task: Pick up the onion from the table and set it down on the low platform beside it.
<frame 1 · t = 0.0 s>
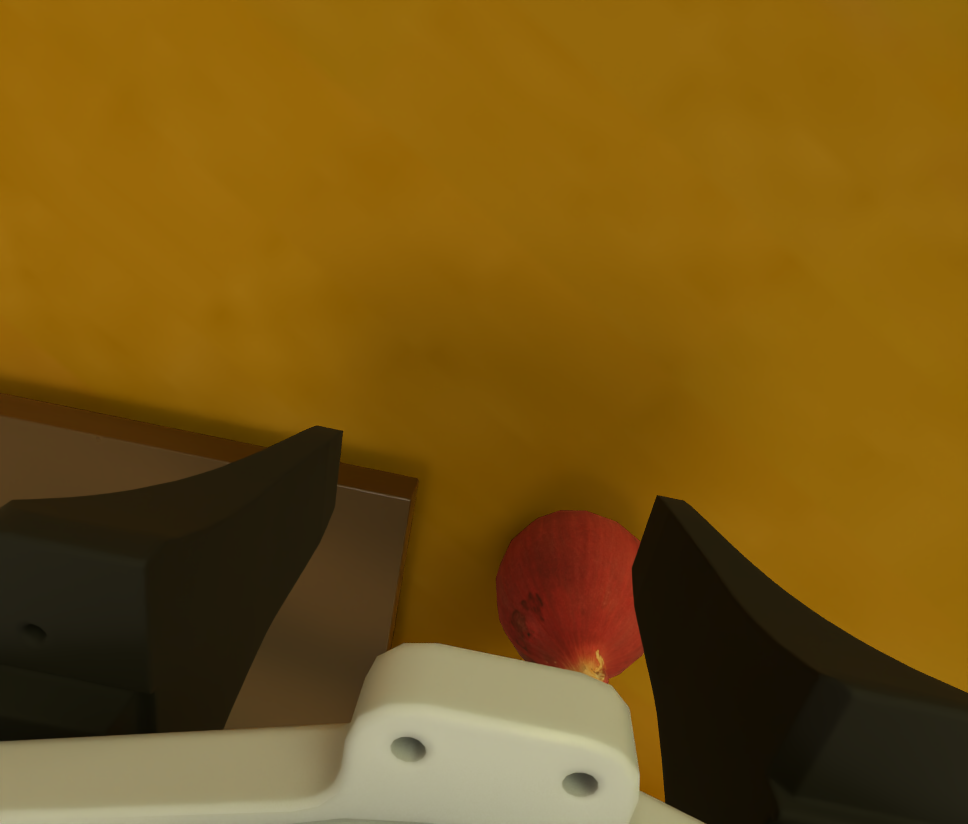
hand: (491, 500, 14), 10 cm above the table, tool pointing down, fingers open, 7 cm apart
onion: (571, 530, 26), on the table
platform: (184, 559, 28), on the table
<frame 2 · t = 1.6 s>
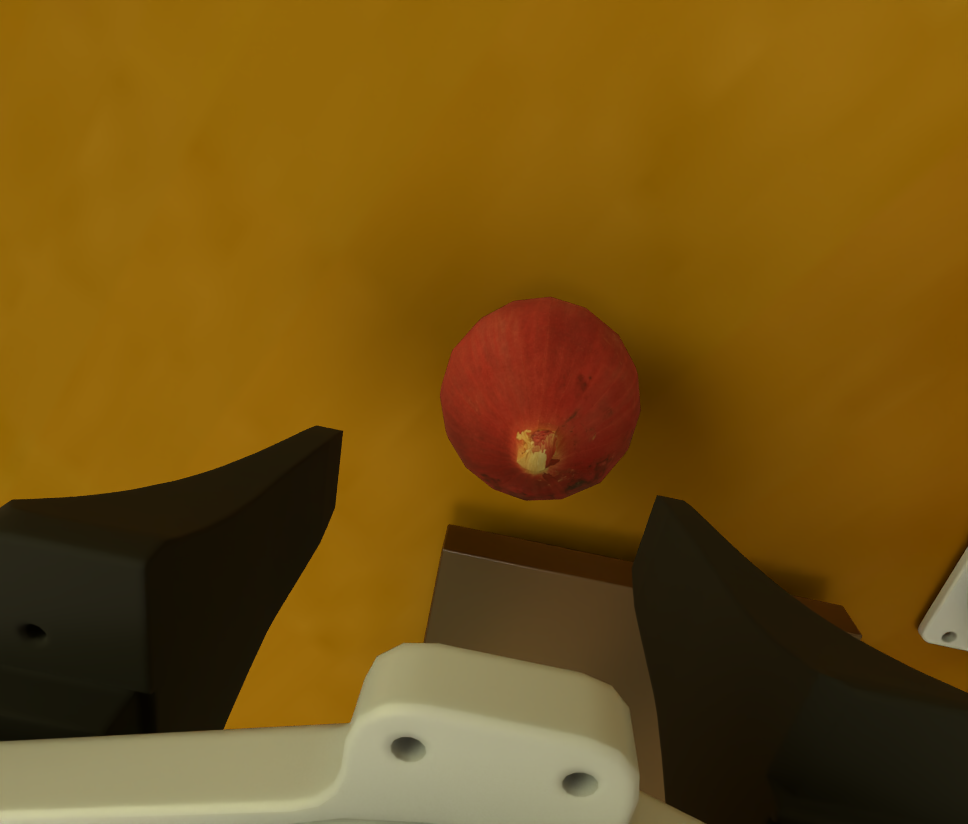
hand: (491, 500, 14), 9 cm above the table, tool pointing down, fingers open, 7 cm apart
onion: (539, 357, 22), on the table
platform: (577, 719, 29), on the table
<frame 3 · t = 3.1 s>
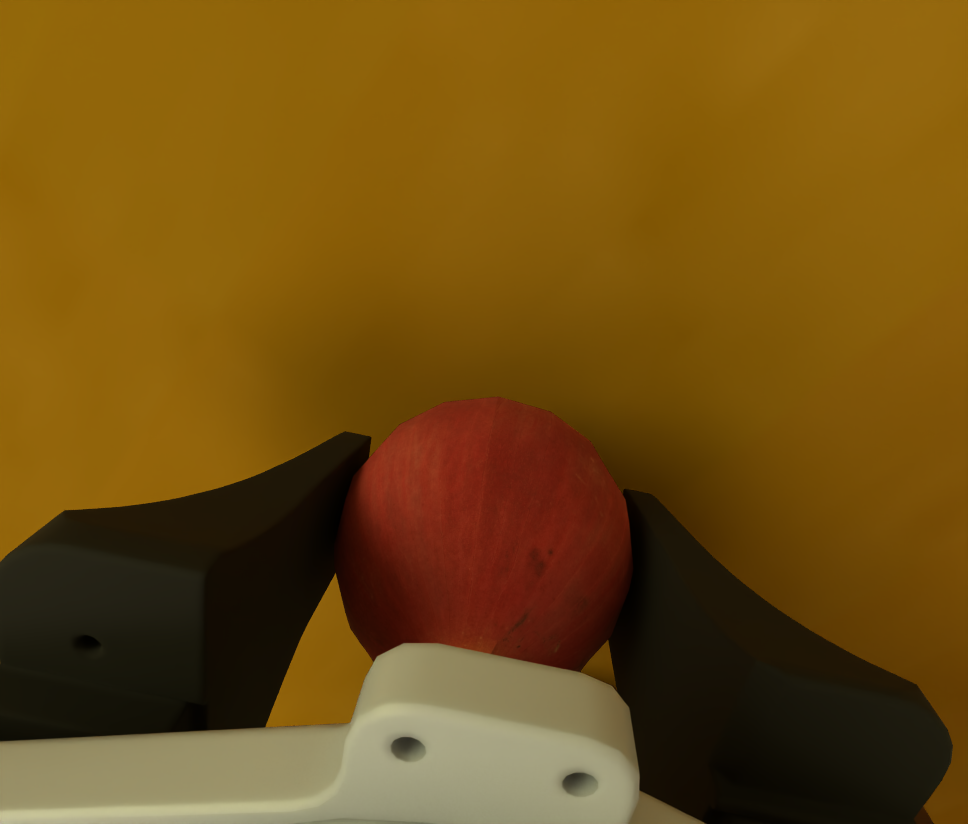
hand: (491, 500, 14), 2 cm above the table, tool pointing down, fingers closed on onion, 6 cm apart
onion: (496, 455, 16), on the table, touching gripper
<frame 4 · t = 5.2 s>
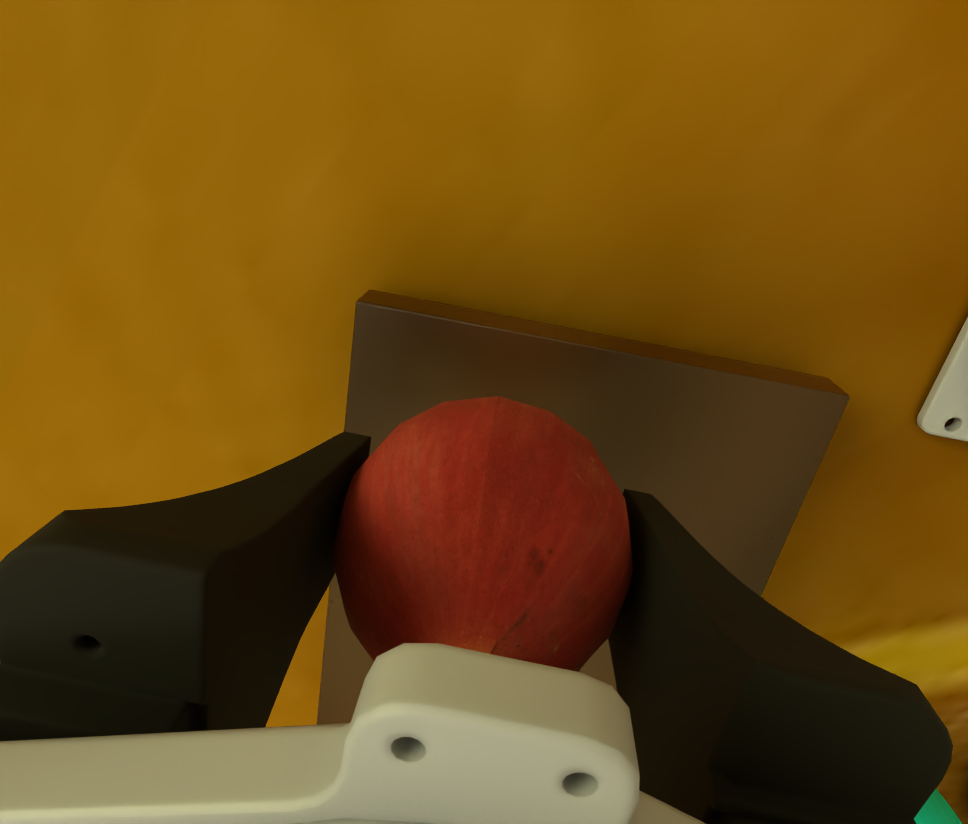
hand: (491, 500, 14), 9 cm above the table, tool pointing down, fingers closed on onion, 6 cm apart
onion: (496, 455, 16), point 7 cm above the table, touching gripper
platform: (534, 557, 26), on the table
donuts: (922, 769, 29), on the table
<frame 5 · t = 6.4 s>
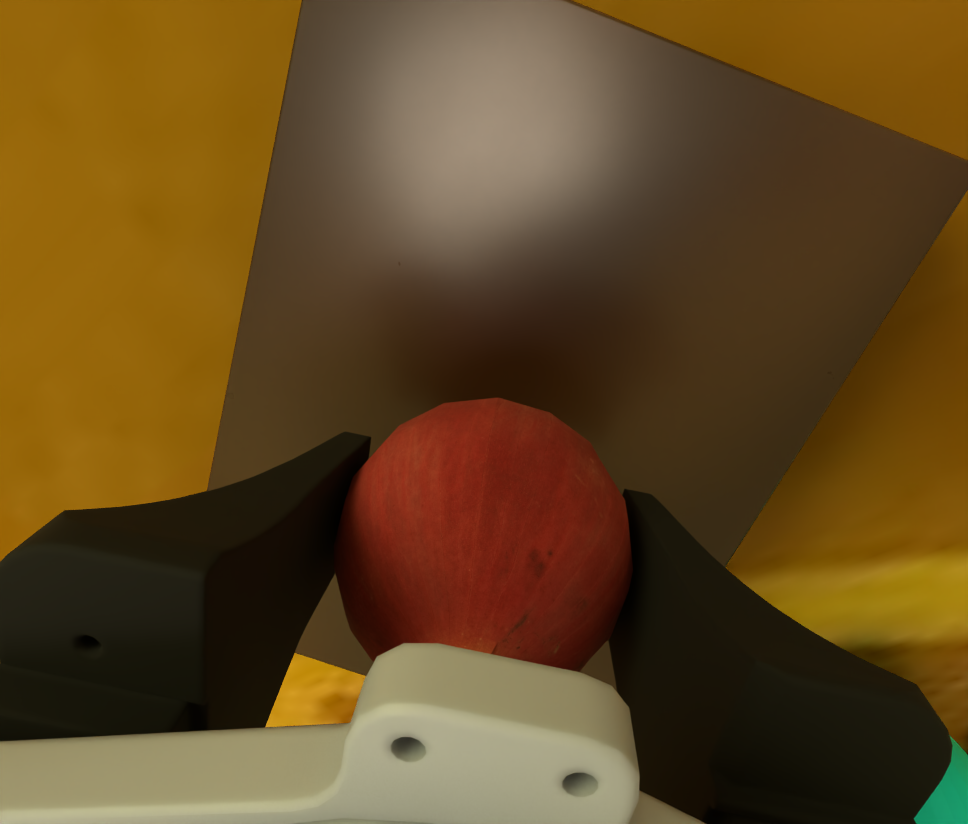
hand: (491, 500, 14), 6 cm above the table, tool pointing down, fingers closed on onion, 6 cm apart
onion: (496, 456, 16), point 4 cm above the table, touching gripper
platform: (505, 396, 20), on the table
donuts: (913, 734, 24), on the table
when the fingers open (5 cm above the table, at t = 7.4 s): onion stays where it is, resting on platform.
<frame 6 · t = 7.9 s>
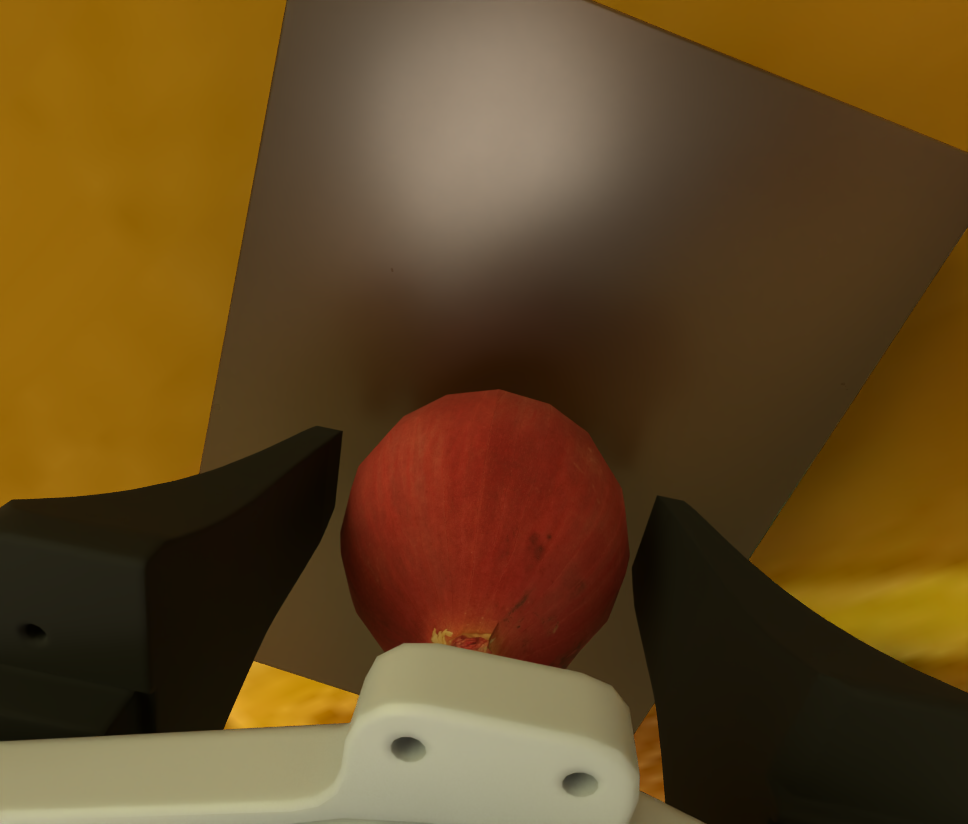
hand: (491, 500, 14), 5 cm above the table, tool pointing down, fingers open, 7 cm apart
onion: (497, 448, 17), point 3 cm above the table, touching platform
platform: (503, 406, 19), on the table
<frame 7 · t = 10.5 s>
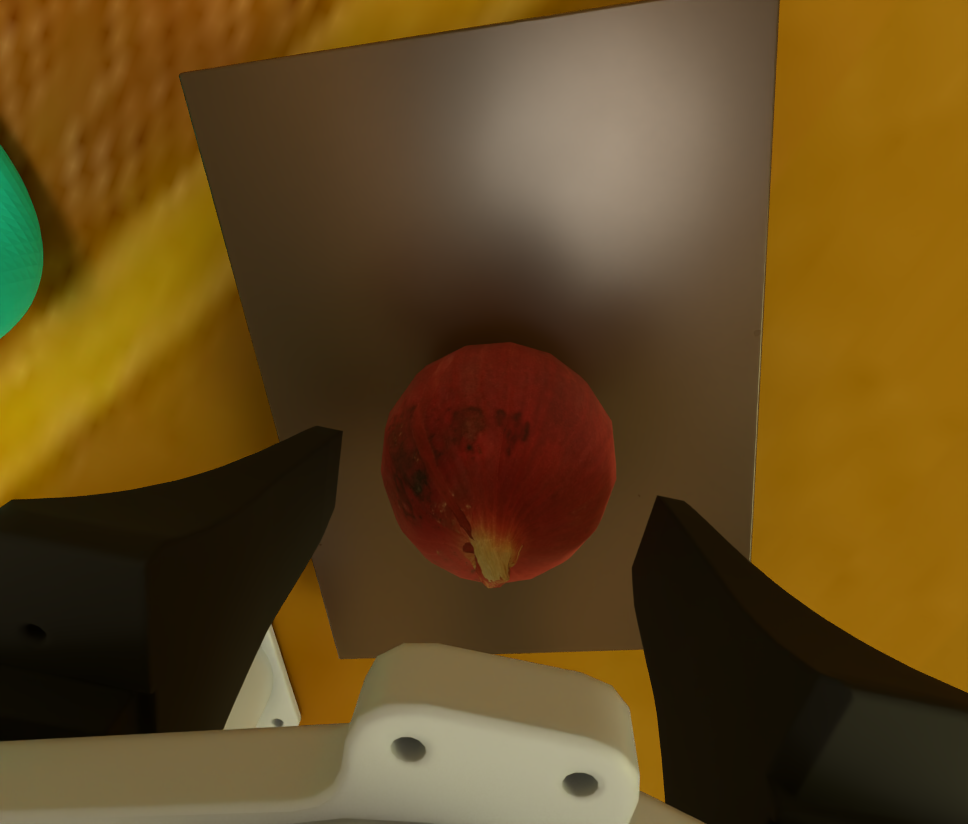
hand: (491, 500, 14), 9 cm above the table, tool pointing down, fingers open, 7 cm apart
onion: (506, 400, 19), point 3 cm above the table, touching platform
platform: (509, 370, 22), on the table
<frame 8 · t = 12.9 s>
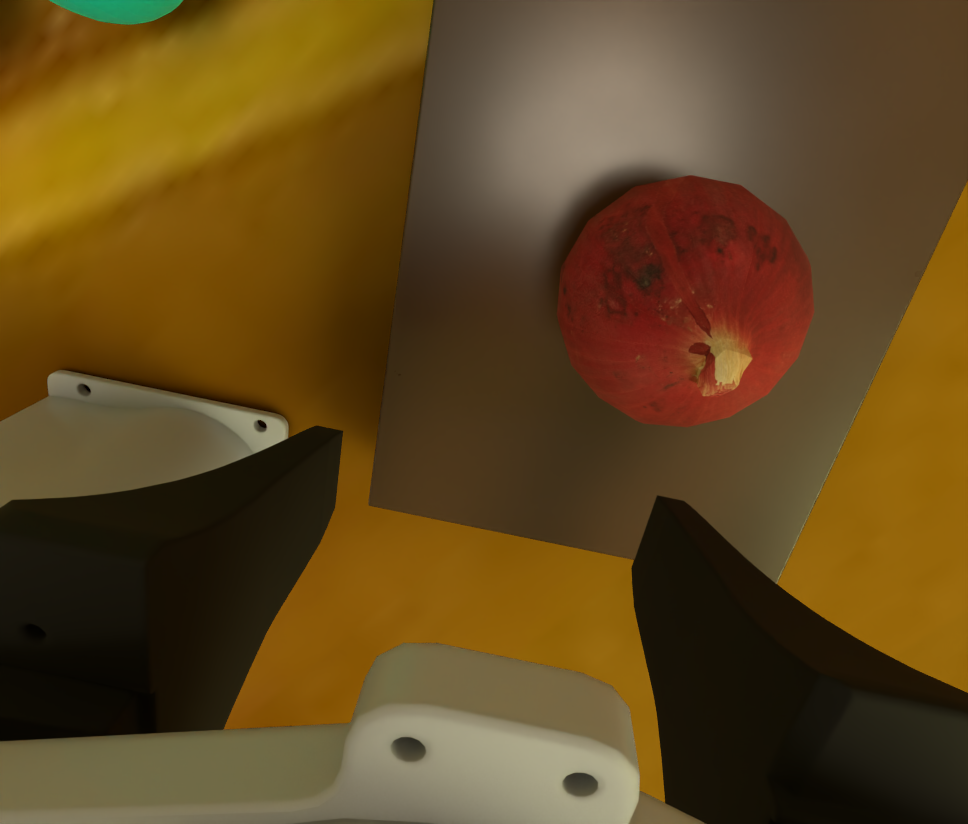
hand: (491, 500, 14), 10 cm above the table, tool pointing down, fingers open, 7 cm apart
onion: (651, 273, 19), point 3 cm above the table, touching platform
platform: (637, 257, 21), on the table
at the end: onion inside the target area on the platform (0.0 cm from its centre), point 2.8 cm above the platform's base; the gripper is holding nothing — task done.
